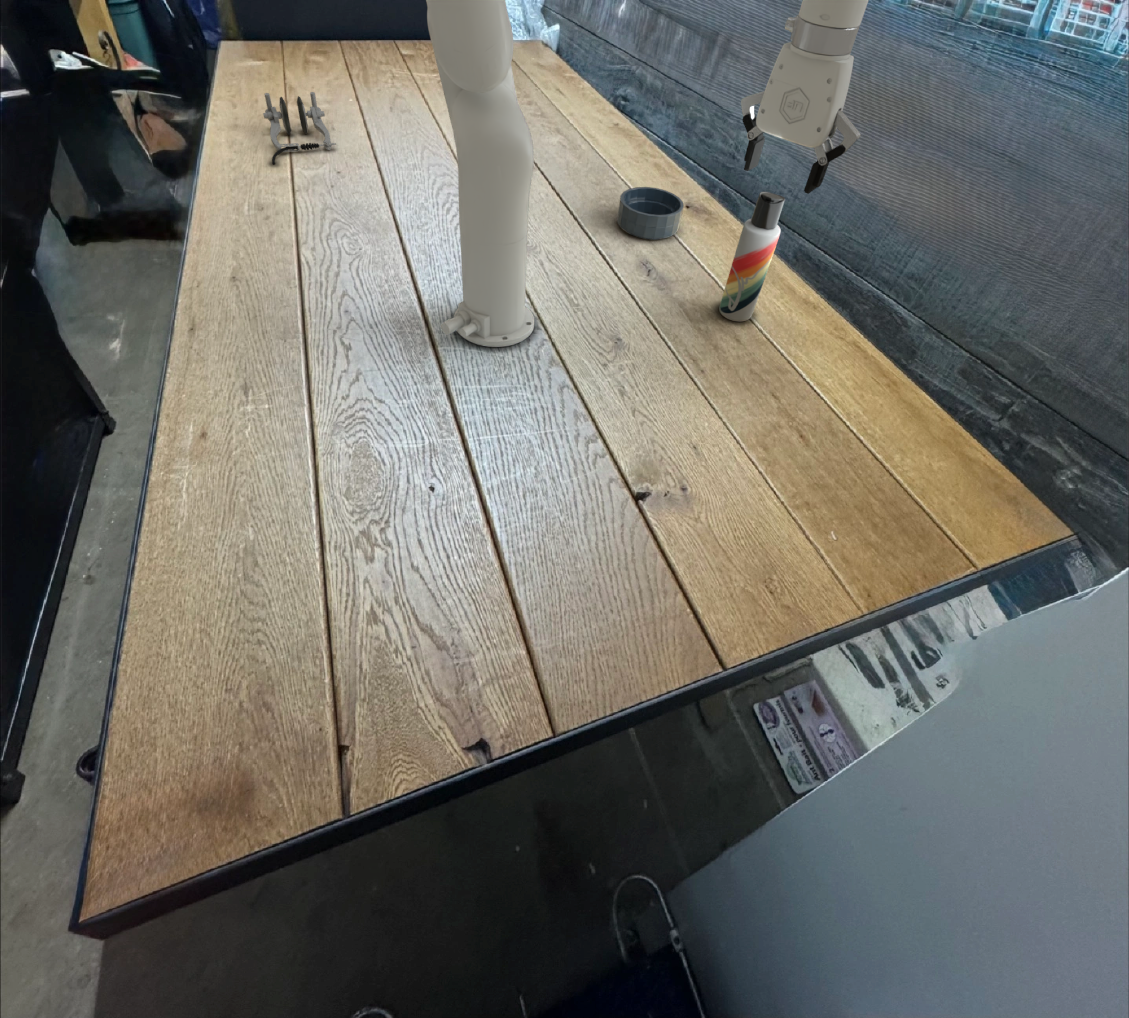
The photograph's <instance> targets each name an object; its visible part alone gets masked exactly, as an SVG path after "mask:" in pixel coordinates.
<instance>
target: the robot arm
mask: <svg viewBox="0 0 1129 1018" xmlns="http://www.w3.org/2000/svg"><path fill="white" fill-rule="evenodd" d="M425 2H426V7H427V10H426V22H427V29H428V34H429V38H430V42H431V46H432V50H433V54H434V58H435V63H436V67H437V71H438V76H439V80H440V83H441V84H440V85H441V87H442V92H443V97H444V100H445V105H446V108H447V111H448V116H449V119H450V125H451V130H452V133H453V140H454V144H455V149H456V159H457V175H458V177H457V179H458V180H457V181H458V183H457V185H458V189H457V190H458V191H457V193H458V194H457V195H458V222H459V223H458V225H459V236H460V237H459V239H460V260H461V281H462V284H461V285H462V286H461V287H462V301H460V302H459V303H458V305H457V309H456V310H455V312H454V315H453V317H451V318H449V319H447V320H445V321H443V322H441V323H440V330H441V332H442V333H443V334H444V335H445V336H449V335H451V334H453V333H455V332H457V333H458V334H459V336H460V337H462V338H463V339H465V340H467V341H468V342H470V343H472V344H475V345H478V346H483V347H489V348H503V347H509V346H514V345H517V344H518V343H521V342H523V341H525V340H526V339H528V338H529V336H531V334H532V333H533V331H534V328H535V318H534V314H533V312H532V311H531V310H530V309H529V308H528V306H527V305H526V293H527V292H526V291H527V290H526V289H527V268H528V267H527V264H528V242H529V241H528V240H529V238H528V237H529V236H528V235H529V210H530V209H529V208H530V195H531V187H532V182H533V181H532V180H533V175H534V174H533V173H534V165H535V161H534V160H535V151H534V143H533V142H534V140H533V137H532V133H531V129H530V127H529V124H528V122H527V119H526V117H525V115H524V112H523V110H522V108H521V106H520V104H519V99H518V96H517V91H516V84H515V79H514V78H515V77H514V73H513V67H512V61H513V57H514V55H513V54H514V34H513V27H512V23H511V21H510V17H509V12H508V8H507V2H506V0H425ZM868 3H869V0H802V1H801V5H800V8H799V11H798V14H797V15H796V16H794V17H792V16H789V17H787V19H786V21H785V23H784V30H786V31H789V33H790V38H789V40H790V41H789V42H785V43H783V45H782V47H781V49H780V51H779V53H778V55H777V57H776V59H775V63H774V66H773V68H772V70H771V73H770V75H769V78H768V81H767V83H766V86H765V88H764V91H760V92H756V93H754V94H750V95H747V96H745V97H743V98H741V100H740V107H741V115H742V123H743V126H744V128H745V130H746V131H745V132H746V133H747V134H746V138H747V140H748V144H747V145H746V146H747V147H746V151H745V154H744V158H743V160H744V162H745V163H744V166H743V170H744V171H746V172H750V171H751V170H753V169H754V168H756V167H758V166H759V164H760V159H761V155H762V152H763V148H764V145H765V142H766V136H765V135H764V134H765V133H766V134H768V135H771V136H774V137H776V138H779V139H782V140H785V141H788V142H790V143H794V144H796V145H800V146H803V147H806V148H813V150H814V153H815V156H816V158H817V160H816V161H815V162H814V163H812V166H811V168H810V171H809V175H808V177H807V180H806V183H805V185H804V189H803V192H804V193H805V194H807V195H809V194H811V193H812V192H813V191H814V190H816V189H818V188H819V187H821V185H822V184H823V181H824V179H825V177H826V173H827V170H828V168H829V165H830V162H832V161H834V160H836V159H837V158H839V157H841V156H842V155H844V154H846V153H847V152H848V151H849V150H850V148H852V146H853V145H854V144H855V143H856V142H857V141H858V140H859V139H860V138H861V136H862V135H861V132H860V131H859V130H858V128H857V127H856V126H855V125H854V124H853V123H852V121H850V119H849V117H847V115H846V114H845V113H844V112H843V110H844V107H845V103H846V100H847V95H848V91H849V89H850V82H851V78H852V73H853V68H854V67H853V66H854V59H855V56H854V55H851V53H852V50H853V48H854V45H855V41H856V38H857V35H858V33H859V30H860V27H861V24H862V21H863V18H864V15H865V12H866V10H867V6H868ZM755 105H759V108H758V111H757V114H756V113H755ZM837 130H838V131H839V133H840V134H841V135H842V136H843V140H842V141H841V142H840V144H838V145H837V146H835V147H834V144H833V141H832V138H833V137H834V135H835V134H836V131H837Z"/></svg>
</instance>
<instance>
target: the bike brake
mask: <svg viewBox="0 0 1129 1018" xmlns="http://www.w3.org/2000/svg"><path fill="white" fill-rule="evenodd" d="M309 94H310V100H311V106H310V107H309V110H306V108H305V105H304V103H303V100H302V98H301V96H299V95H298V96H297V99H296V106H297V110H298V115H299V117H298V118H299V121H300V127H301V130H302V132H303V133H304V134H305V135H307V134H309V133H308V131H309V125H308V119H311V120H312V123H313V126H314V129H316V130H317V131H318V132H319V133H321V134H322V136H323V137H324V140H323V141H322V144H319V143H317V142H312V143H311V142H306V143H302V144H300V145H299V143H298V142H296V143H295V142H293V143H280V142H279V140H278V136H279V134H280V132H281V131H282V127H281V123H280V120H282V125H283V127H284V130H285V132H286V134H287V135H288V136H291V132H292V128H291V123H290V119H289V118H290V117H289V113H288V108H287V103H286V101H285V99H284V98H283V96H280V97H279V111H277V107H276V106H273V104H272V100H271V94H270V93H269V92H265V93H264V100H265V102H266V103H265V104H266V108H267V109H265V110H264V112H263V113H262V115H263V118H264V119H266V120H268V121H269V122H270V129H269V131H270V132H269V135H270V141H271V143H272V145H273V147H274V149H275V152H274V154H273V155H272V157H271V163H272V165H274V166H275V165H276V158H277V157H278V156H279V155H280V154H281V153H290V152H291V153H292V152H300V151H301V150H303V151H306V150H307V151H312V150H314V149H319V148H320V147H323V148H324V149H325V150H326V151H331V149H332V146H336V145H337V143H336V142H333V143H332V141H331V136H330V131H329V129H328V128H327V126H326V125H325V123H324V122H323V119H322V117H325V116H326V115H325V111H324V110H322V109H321V108H320V107H319V106H318V103H317V97H316V93H315V92H314V91H310V93H309Z"/></svg>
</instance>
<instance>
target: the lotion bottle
mask: <svg viewBox="0 0 1129 1018" xmlns="http://www.w3.org/2000/svg"><path fill="white" fill-rule="evenodd" d="M785 201H786V198H785V197H784V196H782V195H780V194H776V193H772V192H769V191H760V192H759V194H758V198H757V201H756V203H755V206H754V209H753V213H752V216H751V218H749V219H747V220H746V221H744V224H743V225H742V229H741V232H740V236H739V239H738V243H737V246H736V249H735V253H734V256H733V260H732V263H731V266H730V269H729V273H728V275H727V276H728V277H727V279H726V282H725V287H724V290H723V293H722V297H721V300H720V304H719V309H718V310H719V314H721V315H722V317H724V318H726V319H727V320H729V321H733V322H746V321H748V320H750V319H751V318H752V316H753V313H754V311H755V308H756V306H757V304H758V300H759V296H760V294H761V291H762V288H763V285H764V282H765V279H766V276H767V274H768V272H769V271H768V270H769V267H770V265H771V262H772V259H773V256H774V253H775V250H776V247H777V244H778V241H779V238H780V235H781V231H782V230H781V227H780V226H779V225H778V223H779V221H780V216H781V214H782V210H783V208H784V204H785Z"/></svg>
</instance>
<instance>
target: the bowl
mask: <svg viewBox="0 0 1129 1018" xmlns="http://www.w3.org/2000/svg"><path fill="white" fill-rule="evenodd" d="M617 209H618V210H617V218H616V223H617V225H618V226H619V228H621V229H622V230H623V231H624V232H626V233H627V234H629V235H631V236H633V237H636V238H639V239H642V240H643V239H644V240H653V241H656V240H657V241H658V240H663V239H667V238H670V237H673V236H674V235H676V234H677V233H678V231H679V229H680V226H681V221H682V216H683V211H684V202H683V200H682V199H681V198H680V197H679V196H678V195H676V194H675V193H673V192H670V191H668V190H666V189H661V188H658V187H652V186H635V187H631V188H628V189H626V190H624V191H623V192H622V193H621V194H620V195H619V202H618V208H617Z"/></svg>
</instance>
